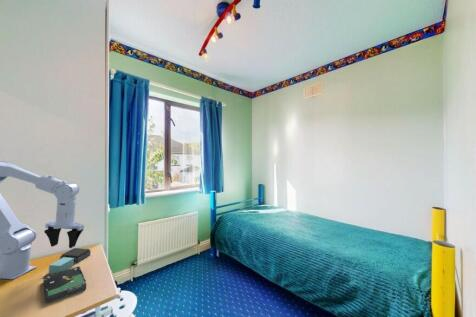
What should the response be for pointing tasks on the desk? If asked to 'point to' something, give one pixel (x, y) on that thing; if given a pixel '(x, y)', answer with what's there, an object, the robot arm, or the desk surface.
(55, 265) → the block
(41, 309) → the desk surface
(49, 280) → the disk drive
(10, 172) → the robot arm
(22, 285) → the desk surface
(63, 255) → the stand
